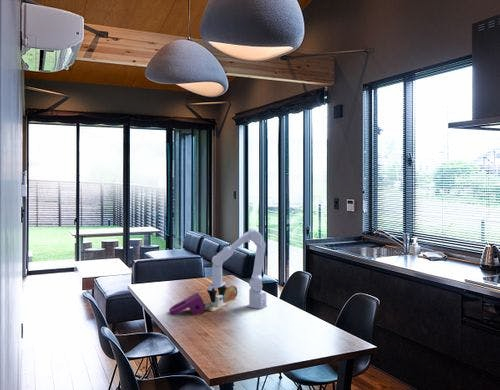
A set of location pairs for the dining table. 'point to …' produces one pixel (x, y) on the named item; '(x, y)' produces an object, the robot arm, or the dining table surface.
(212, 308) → the rail
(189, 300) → the mounting bracket
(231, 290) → the tin
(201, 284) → the dining table surface
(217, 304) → the white block
